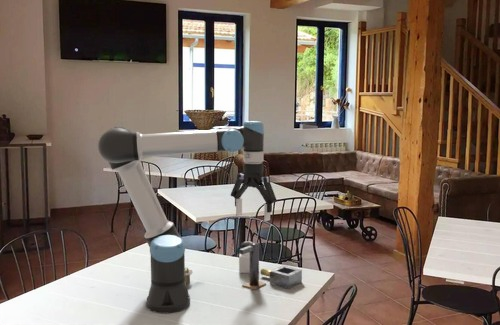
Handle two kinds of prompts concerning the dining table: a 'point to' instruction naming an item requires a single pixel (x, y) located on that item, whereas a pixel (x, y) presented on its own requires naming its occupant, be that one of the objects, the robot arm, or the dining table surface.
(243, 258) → the medicine bottle
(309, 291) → the dining table surface
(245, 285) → the copper plate
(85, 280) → the dining table surface
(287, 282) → the block
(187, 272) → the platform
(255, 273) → the chuck key
